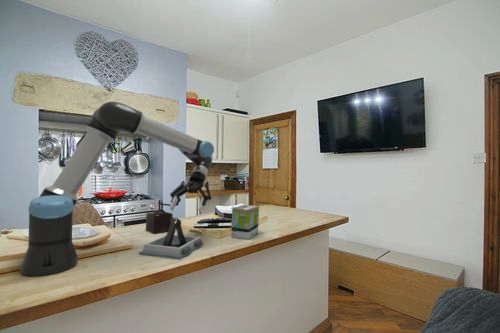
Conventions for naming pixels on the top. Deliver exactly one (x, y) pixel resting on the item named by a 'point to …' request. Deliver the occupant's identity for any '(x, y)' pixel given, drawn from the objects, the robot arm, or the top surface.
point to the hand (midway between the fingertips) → (185, 209)
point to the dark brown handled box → (159, 220)
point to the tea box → (245, 221)
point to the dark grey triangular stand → (171, 233)
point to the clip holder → (171, 252)
